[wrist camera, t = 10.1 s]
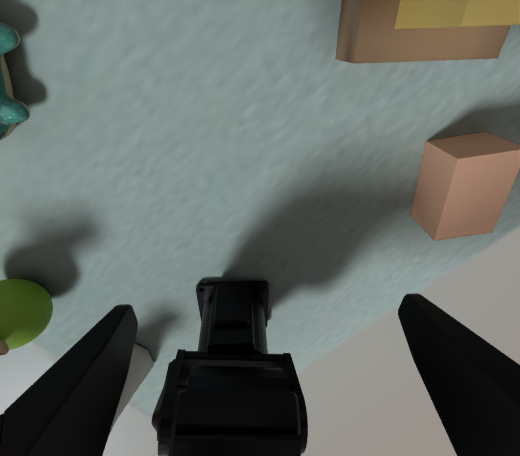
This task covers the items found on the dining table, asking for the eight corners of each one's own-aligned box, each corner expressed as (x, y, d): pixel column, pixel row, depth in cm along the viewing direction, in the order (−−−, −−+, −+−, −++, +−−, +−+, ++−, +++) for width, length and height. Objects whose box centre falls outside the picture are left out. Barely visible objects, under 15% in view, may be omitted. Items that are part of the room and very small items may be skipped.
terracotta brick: (459, 206, 22) (492, 232, 19) (409, 214, 22) (434, 240, 19) (484, 131, 19) (528, 148, 16) (424, 140, 19) (457, 159, 16)
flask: (128, 329, 28) (83, 449, 20) (166, 363, 32) (140, 475, 24) (69, 346, 29) (3, 467, 21) (112, 378, 33) (71, 490, 25)
